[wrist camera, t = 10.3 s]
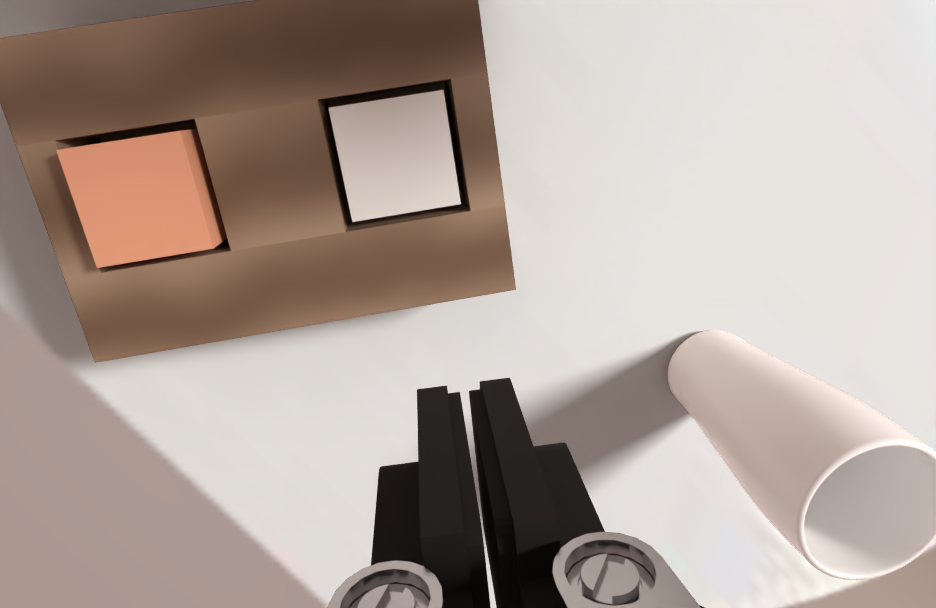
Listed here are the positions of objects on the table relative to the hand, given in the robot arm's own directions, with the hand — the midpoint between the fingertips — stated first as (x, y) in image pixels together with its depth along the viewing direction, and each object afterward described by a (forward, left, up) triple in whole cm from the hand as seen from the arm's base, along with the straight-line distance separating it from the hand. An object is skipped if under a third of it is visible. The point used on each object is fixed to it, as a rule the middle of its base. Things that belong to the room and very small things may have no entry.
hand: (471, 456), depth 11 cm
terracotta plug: (-4, -12, -22) cm, 25 cm away
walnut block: (-4, -6, -25) cm, 26 cm away
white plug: (-4, -1, -23) cm, 23 cm away
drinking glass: (+12, +16, -25) cm, 32 cm away
